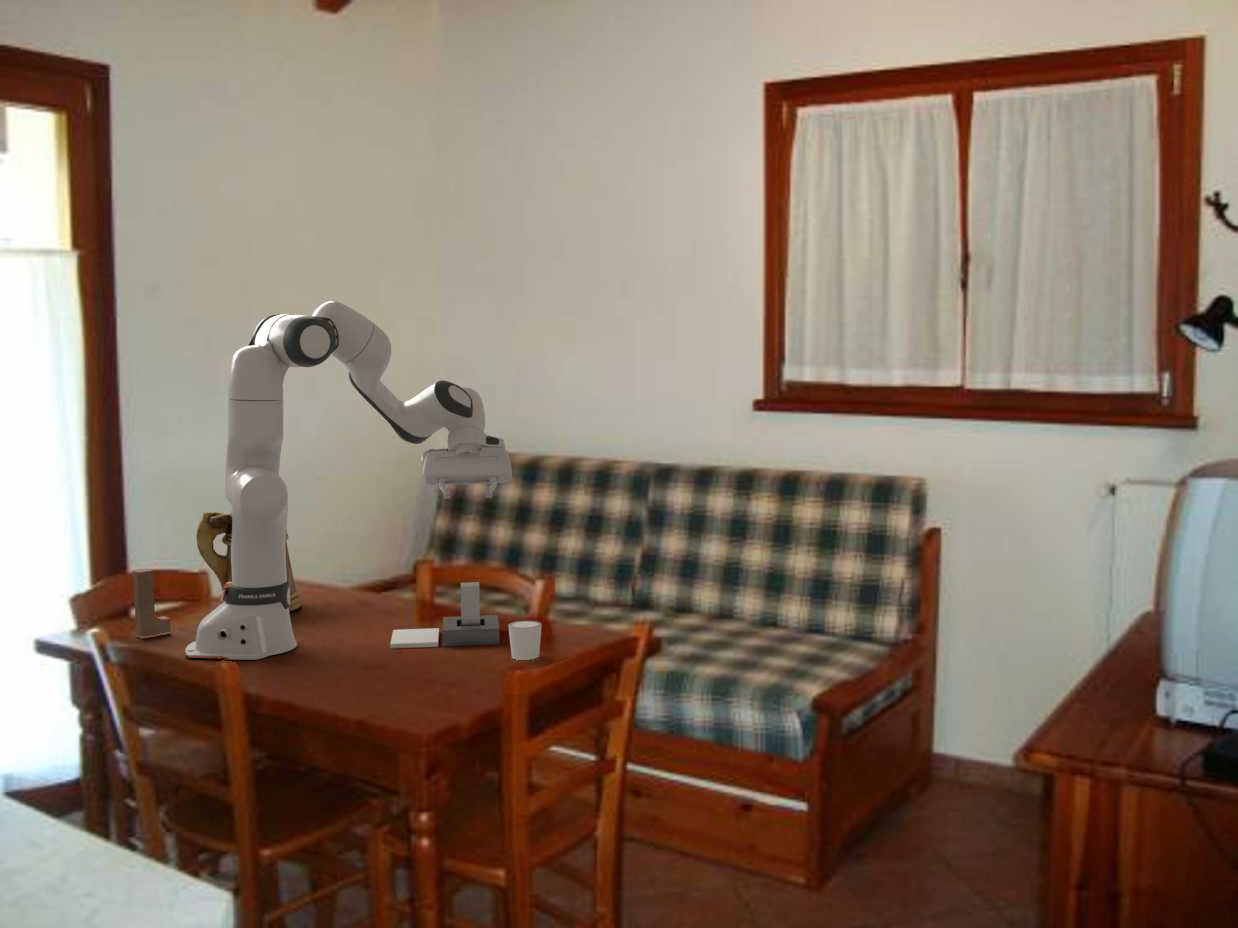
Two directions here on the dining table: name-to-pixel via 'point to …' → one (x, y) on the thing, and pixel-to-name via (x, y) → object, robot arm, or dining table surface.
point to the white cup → (525, 639)
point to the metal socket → (471, 632)
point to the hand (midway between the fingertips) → (468, 496)
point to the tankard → (221, 564)
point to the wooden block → (147, 605)
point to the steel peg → (470, 604)
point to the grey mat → (415, 638)
